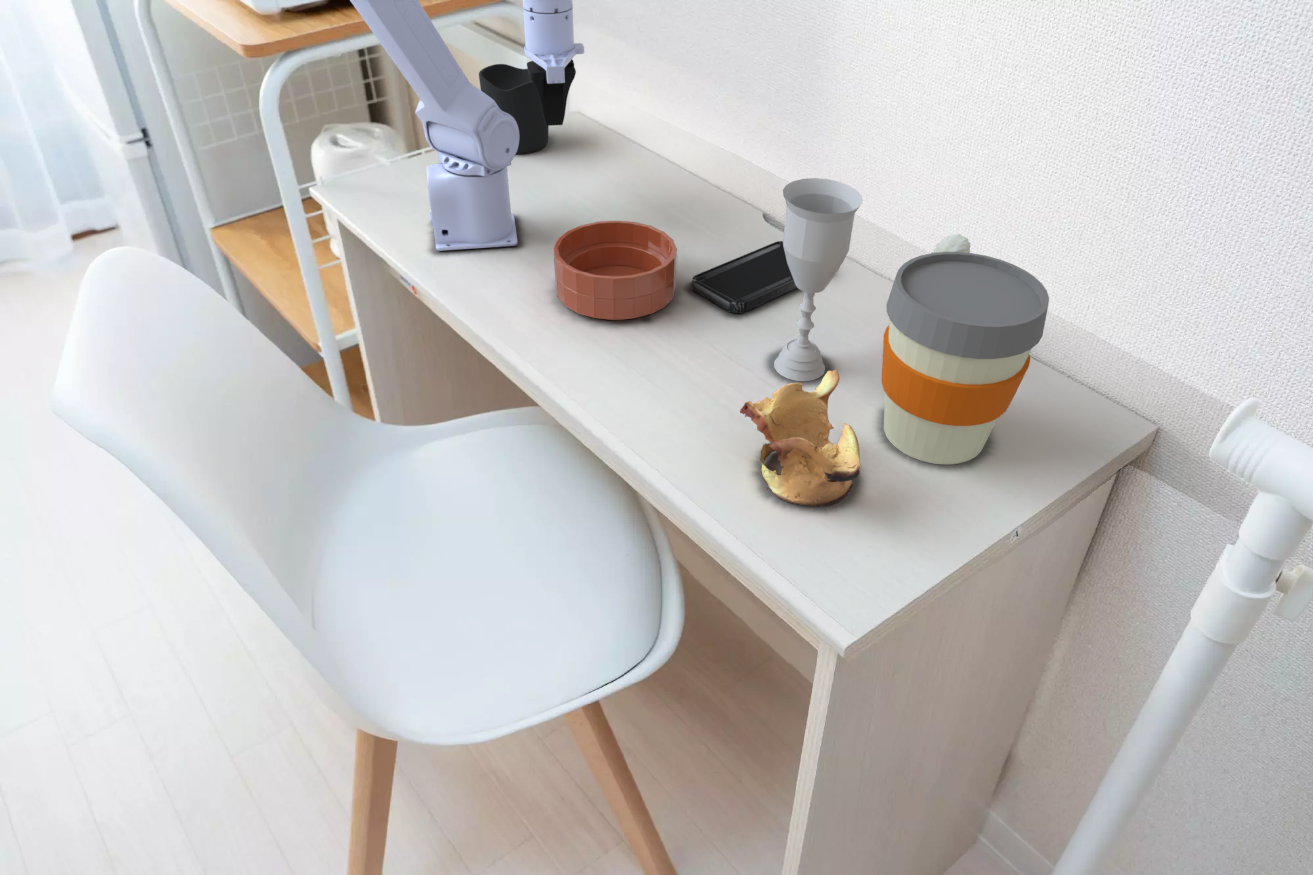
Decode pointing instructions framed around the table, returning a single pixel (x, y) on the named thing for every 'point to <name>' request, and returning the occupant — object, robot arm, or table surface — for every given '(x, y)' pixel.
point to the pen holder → (517, 103)
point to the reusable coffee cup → (956, 351)
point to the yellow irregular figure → (805, 445)
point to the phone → (747, 279)
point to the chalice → (814, 259)
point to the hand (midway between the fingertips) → (554, 123)
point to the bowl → (615, 269)
